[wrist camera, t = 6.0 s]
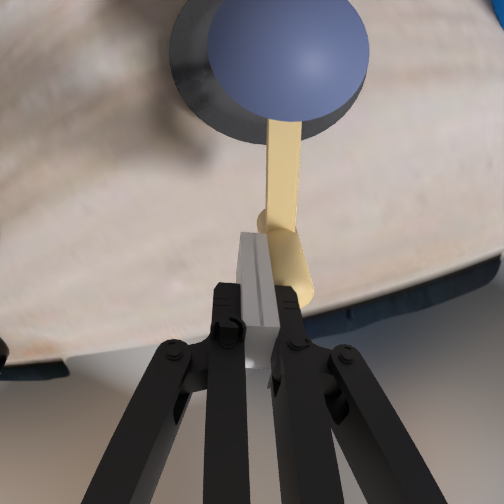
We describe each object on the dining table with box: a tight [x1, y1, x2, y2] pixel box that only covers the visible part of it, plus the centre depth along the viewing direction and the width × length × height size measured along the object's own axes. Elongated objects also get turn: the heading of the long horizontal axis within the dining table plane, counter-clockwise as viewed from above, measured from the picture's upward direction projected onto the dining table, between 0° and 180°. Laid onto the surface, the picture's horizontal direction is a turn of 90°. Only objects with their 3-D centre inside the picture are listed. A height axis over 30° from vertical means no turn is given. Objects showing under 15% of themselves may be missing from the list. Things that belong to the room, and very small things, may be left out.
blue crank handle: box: [207, 0, 369, 309], centre depth 14 cm, size 16×7×7 cm, turn 0°
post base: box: [169, 0, 367, 145], centre depth 17 cm, size 14×14×6 cm
